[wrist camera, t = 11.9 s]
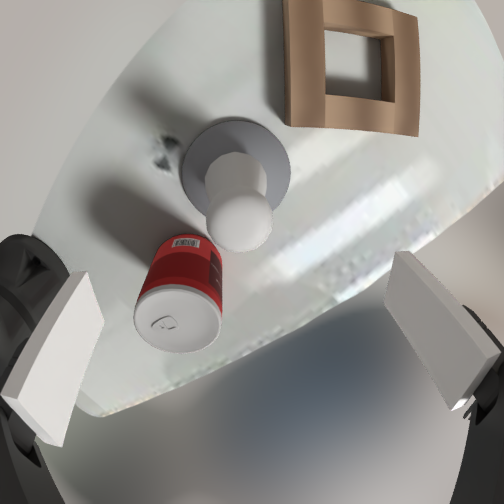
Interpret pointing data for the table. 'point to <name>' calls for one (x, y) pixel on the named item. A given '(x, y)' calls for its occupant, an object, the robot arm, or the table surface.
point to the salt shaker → (237, 203)
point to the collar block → (313, 67)
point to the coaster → (243, 141)
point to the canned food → (181, 296)
